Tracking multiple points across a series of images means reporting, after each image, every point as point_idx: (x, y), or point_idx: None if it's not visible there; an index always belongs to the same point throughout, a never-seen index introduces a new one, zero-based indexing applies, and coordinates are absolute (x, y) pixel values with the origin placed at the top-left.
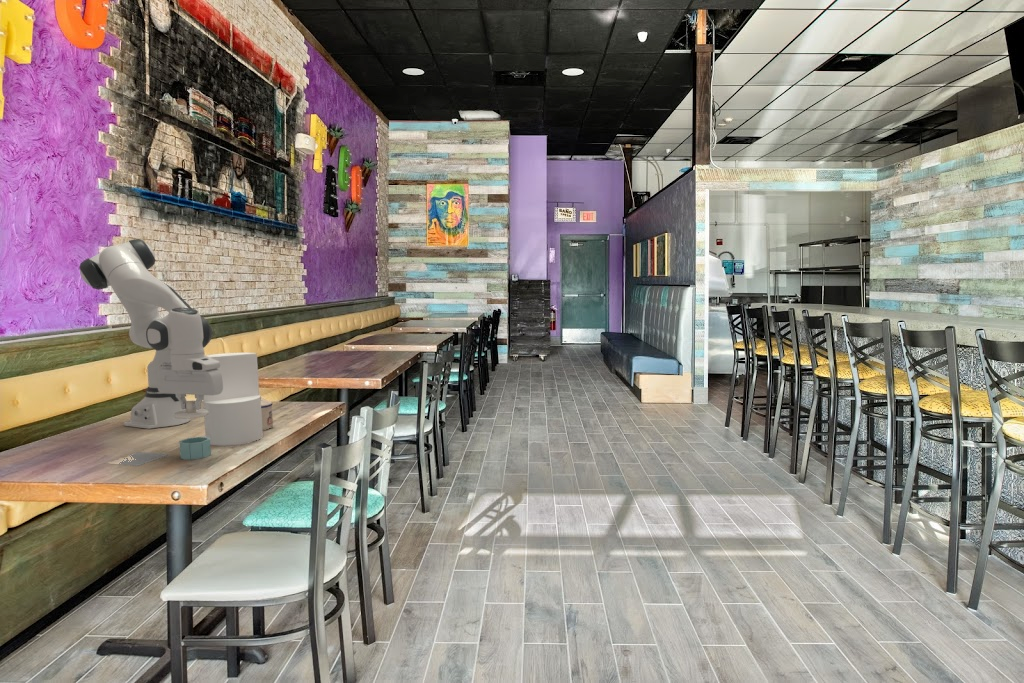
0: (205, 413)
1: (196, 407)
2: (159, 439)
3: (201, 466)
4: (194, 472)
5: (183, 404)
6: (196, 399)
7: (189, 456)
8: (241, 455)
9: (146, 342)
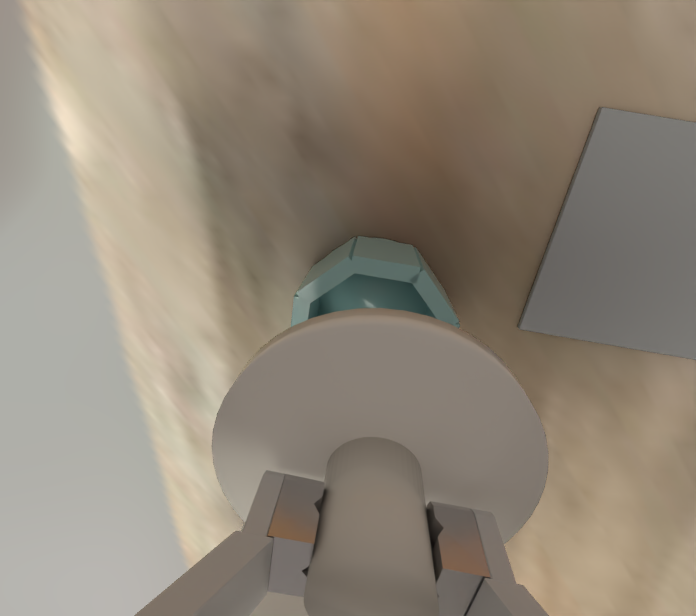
0: (217, 451)
1: (260, 486)
2: (689, 543)
3: (237, 136)
4: (199, 13)
5: (468, 557)
6: (199, 604)
7: (361, 239)
8: (171, 320)
9: None
